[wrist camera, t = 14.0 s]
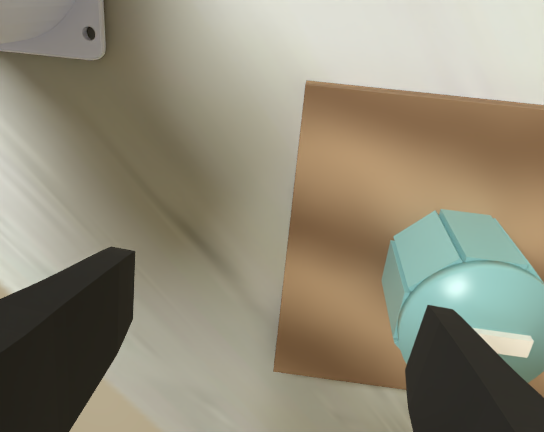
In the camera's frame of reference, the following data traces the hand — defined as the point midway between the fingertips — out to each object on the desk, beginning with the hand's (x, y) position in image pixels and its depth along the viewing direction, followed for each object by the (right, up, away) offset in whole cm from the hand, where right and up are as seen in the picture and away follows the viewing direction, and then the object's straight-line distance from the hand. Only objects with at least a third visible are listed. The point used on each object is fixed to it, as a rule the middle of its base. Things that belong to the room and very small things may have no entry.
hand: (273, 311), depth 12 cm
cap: (+8, 0, +9) cm, 12 cm away
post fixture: (+8, +1, +10) cm, 12 cm away
